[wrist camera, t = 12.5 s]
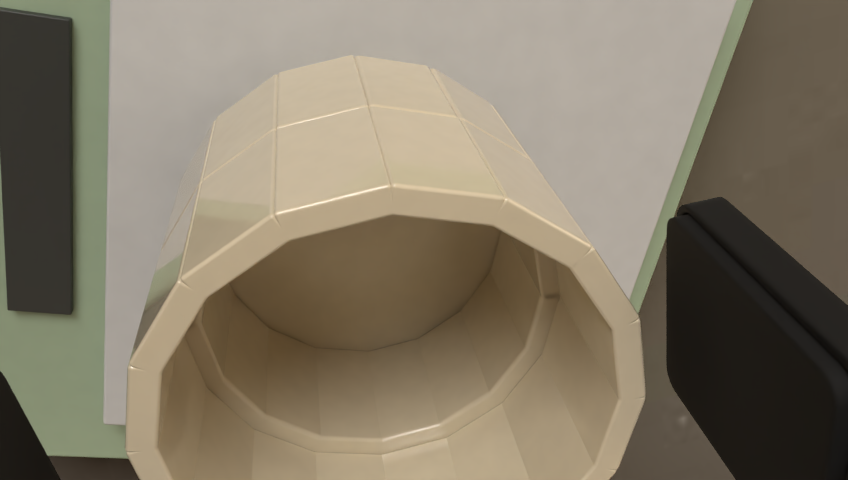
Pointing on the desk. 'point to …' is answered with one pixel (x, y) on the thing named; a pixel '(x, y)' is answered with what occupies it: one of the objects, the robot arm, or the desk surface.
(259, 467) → the beige cup
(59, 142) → the scale
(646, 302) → the desk surface
